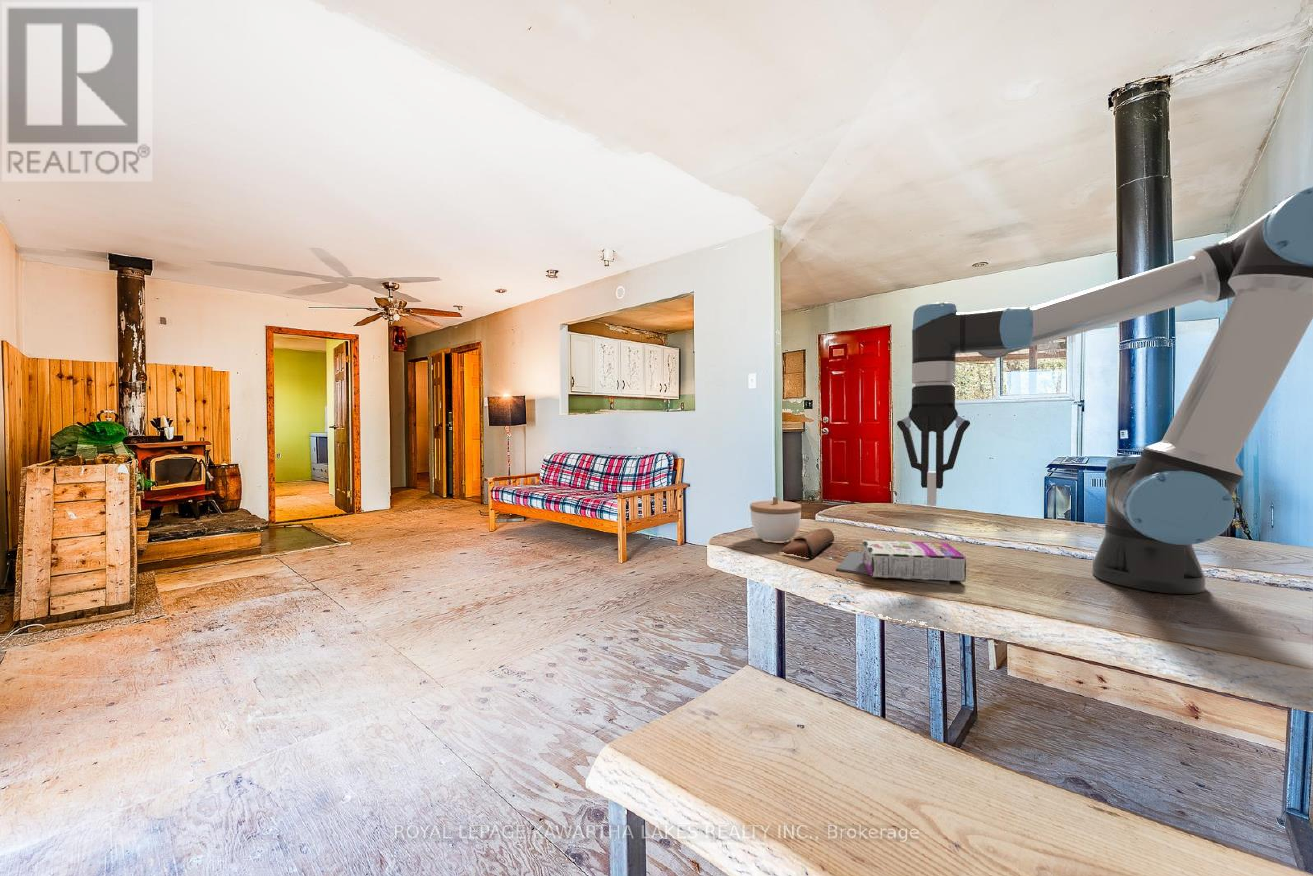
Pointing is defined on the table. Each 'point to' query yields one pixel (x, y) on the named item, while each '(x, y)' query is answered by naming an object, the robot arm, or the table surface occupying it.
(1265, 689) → the table surface
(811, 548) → the sunglasses case
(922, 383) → the robot arm
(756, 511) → the lidded bowl
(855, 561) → the mat
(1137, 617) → the table surface
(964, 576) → the candy bar box
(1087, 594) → the table surface
